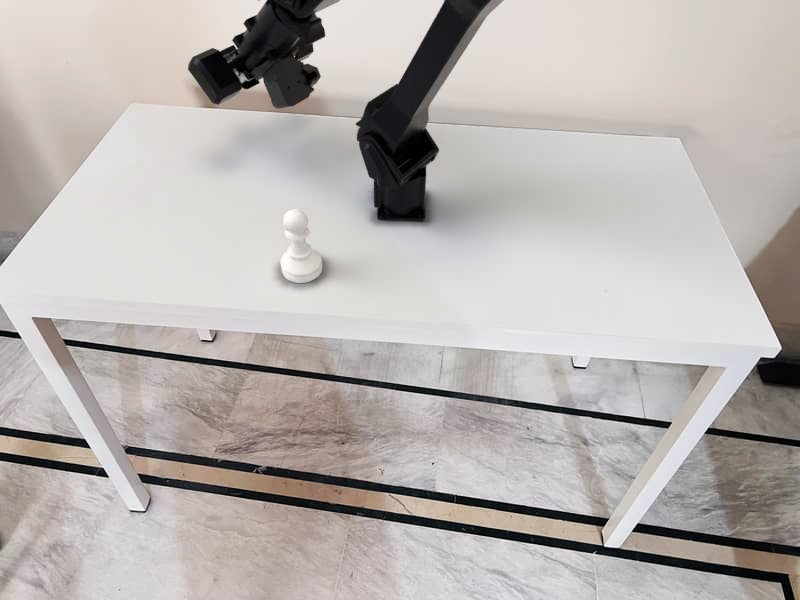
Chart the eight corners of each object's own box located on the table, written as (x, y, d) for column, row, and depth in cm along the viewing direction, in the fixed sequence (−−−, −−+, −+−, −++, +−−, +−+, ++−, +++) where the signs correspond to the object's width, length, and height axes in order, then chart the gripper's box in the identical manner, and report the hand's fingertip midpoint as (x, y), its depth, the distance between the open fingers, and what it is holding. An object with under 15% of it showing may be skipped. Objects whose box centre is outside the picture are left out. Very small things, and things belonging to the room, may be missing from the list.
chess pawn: (329, 273, 75) (324, 216, 68) (293, 289, 73) (283, 232, 66) (311, 250, 77) (304, 193, 71) (275, 265, 76) (264, 207, 69)
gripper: (262, 112, 75) (219, 158, 87) (358, 58, 85) (307, 106, 98) (205, 31, 72) (169, 91, 85) (311, -14, 83) (265, 44, 95)
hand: (233, 84), depth 91 cm, fingers closed
